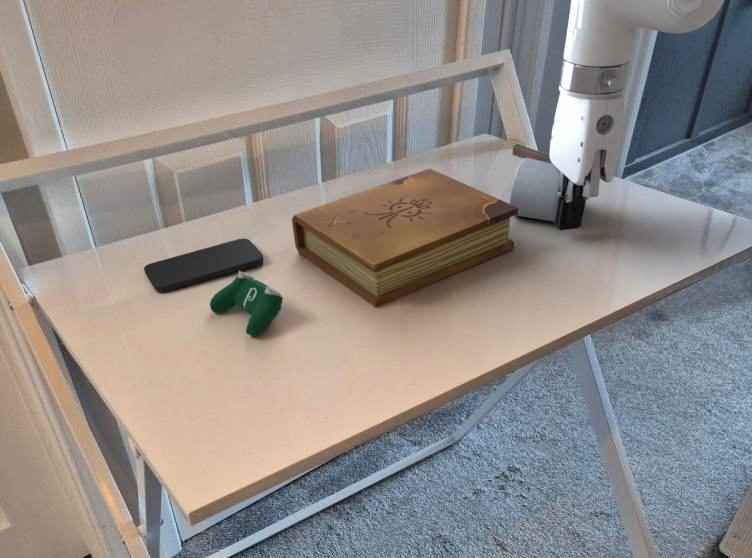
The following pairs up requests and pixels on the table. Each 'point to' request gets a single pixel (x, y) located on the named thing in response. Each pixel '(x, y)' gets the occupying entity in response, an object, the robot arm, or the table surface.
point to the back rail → (530, 153)
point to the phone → (202, 264)
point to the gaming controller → (249, 301)
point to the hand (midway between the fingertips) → (567, 226)
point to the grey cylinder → (535, 190)
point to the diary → (403, 234)
